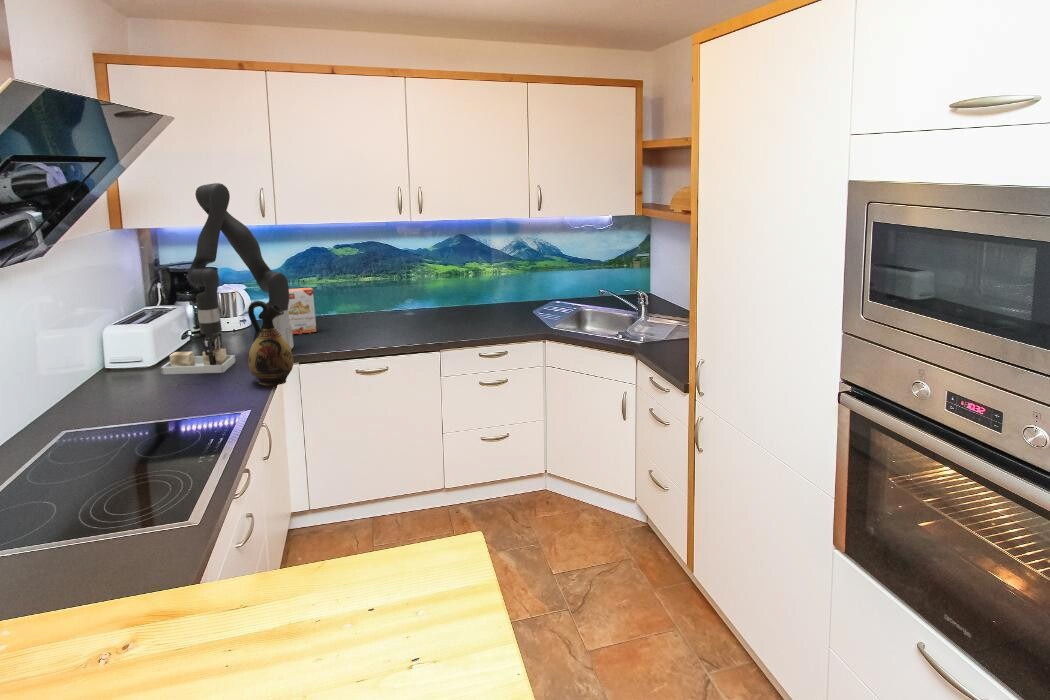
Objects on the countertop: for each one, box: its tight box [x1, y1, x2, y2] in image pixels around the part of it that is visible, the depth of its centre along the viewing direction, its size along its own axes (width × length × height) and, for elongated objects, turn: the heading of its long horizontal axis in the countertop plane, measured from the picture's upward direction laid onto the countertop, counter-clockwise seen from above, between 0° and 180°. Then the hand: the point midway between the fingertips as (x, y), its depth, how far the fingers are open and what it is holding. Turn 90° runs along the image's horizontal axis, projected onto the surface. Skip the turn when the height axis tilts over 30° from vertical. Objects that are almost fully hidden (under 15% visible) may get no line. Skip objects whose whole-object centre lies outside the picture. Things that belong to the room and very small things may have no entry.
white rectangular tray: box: [160, 354, 237, 376], centre depth 269 cm, size 23×15×4 cm, turn 95°
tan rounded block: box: [169, 351, 195, 367], centre depth 268 cm, size 7×5×6 cm
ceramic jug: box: [247, 300, 294, 387], centre depth 250 cm, size 17×15×30 cm
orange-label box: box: [201, 347, 227, 366], centre depth 269 cm, size 7×5×6 cm
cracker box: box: [288, 287, 317, 336], centre depth 322 cm, size 14×6×21 cm, turn 114°
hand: (215, 362), depth 269 cm, fingers closed on orange-label box, 5 cm apart
